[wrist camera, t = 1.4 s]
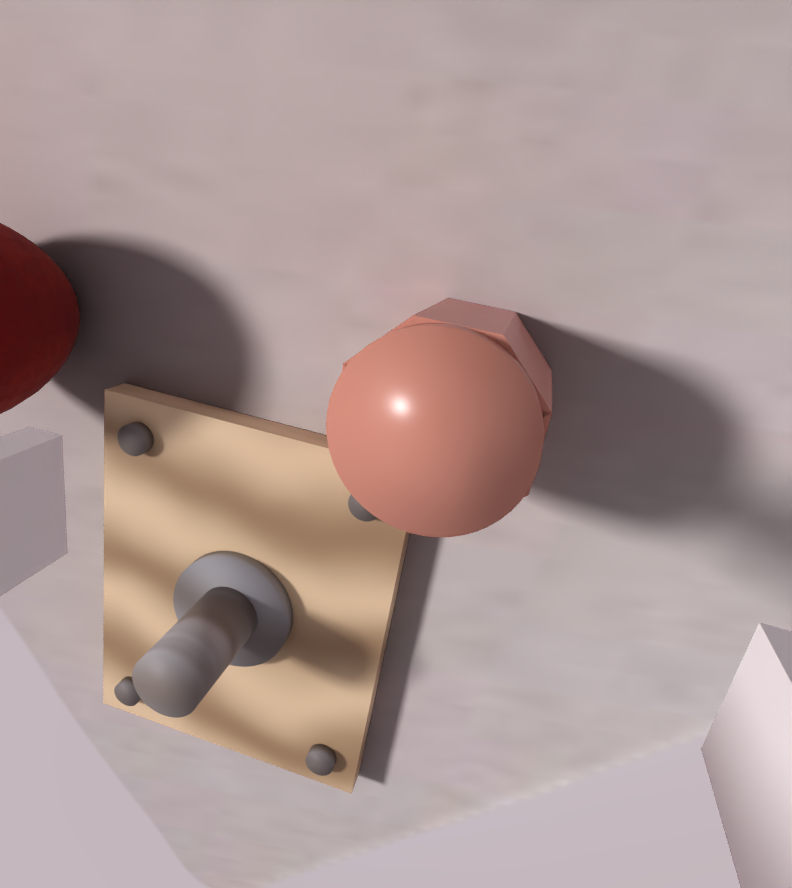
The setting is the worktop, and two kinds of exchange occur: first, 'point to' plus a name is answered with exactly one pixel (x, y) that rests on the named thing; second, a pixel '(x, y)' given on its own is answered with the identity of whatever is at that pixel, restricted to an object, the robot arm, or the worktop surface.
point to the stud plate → (242, 584)
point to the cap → (442, 419)
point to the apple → (32, 318)
